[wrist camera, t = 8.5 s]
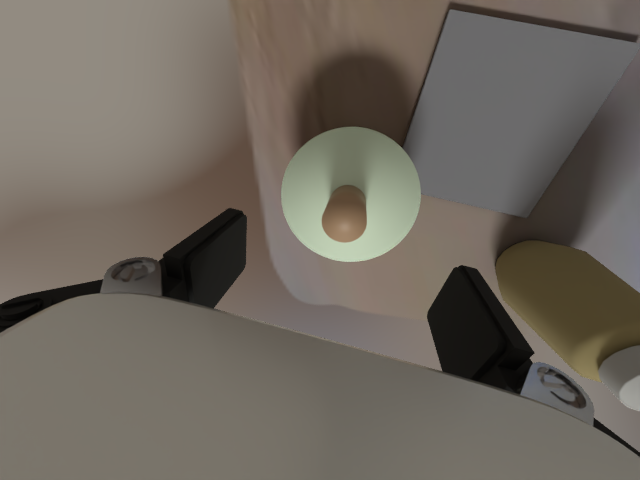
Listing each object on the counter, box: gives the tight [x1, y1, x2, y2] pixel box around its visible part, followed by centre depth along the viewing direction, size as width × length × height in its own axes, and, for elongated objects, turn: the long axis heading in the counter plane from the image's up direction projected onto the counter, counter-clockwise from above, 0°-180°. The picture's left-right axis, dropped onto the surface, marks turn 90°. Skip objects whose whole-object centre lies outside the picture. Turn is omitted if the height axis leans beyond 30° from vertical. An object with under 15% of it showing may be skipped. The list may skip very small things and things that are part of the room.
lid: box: [281, 127, 421, 262], centre depth 19 cm, size 12×12×5 cm
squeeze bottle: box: [495, 240, 640, 411], centre depth 19 cm, size 8×8×18 cm
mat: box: [402, 9, 640, 218], centre depth 21 cm, size 14×14×1 cm
